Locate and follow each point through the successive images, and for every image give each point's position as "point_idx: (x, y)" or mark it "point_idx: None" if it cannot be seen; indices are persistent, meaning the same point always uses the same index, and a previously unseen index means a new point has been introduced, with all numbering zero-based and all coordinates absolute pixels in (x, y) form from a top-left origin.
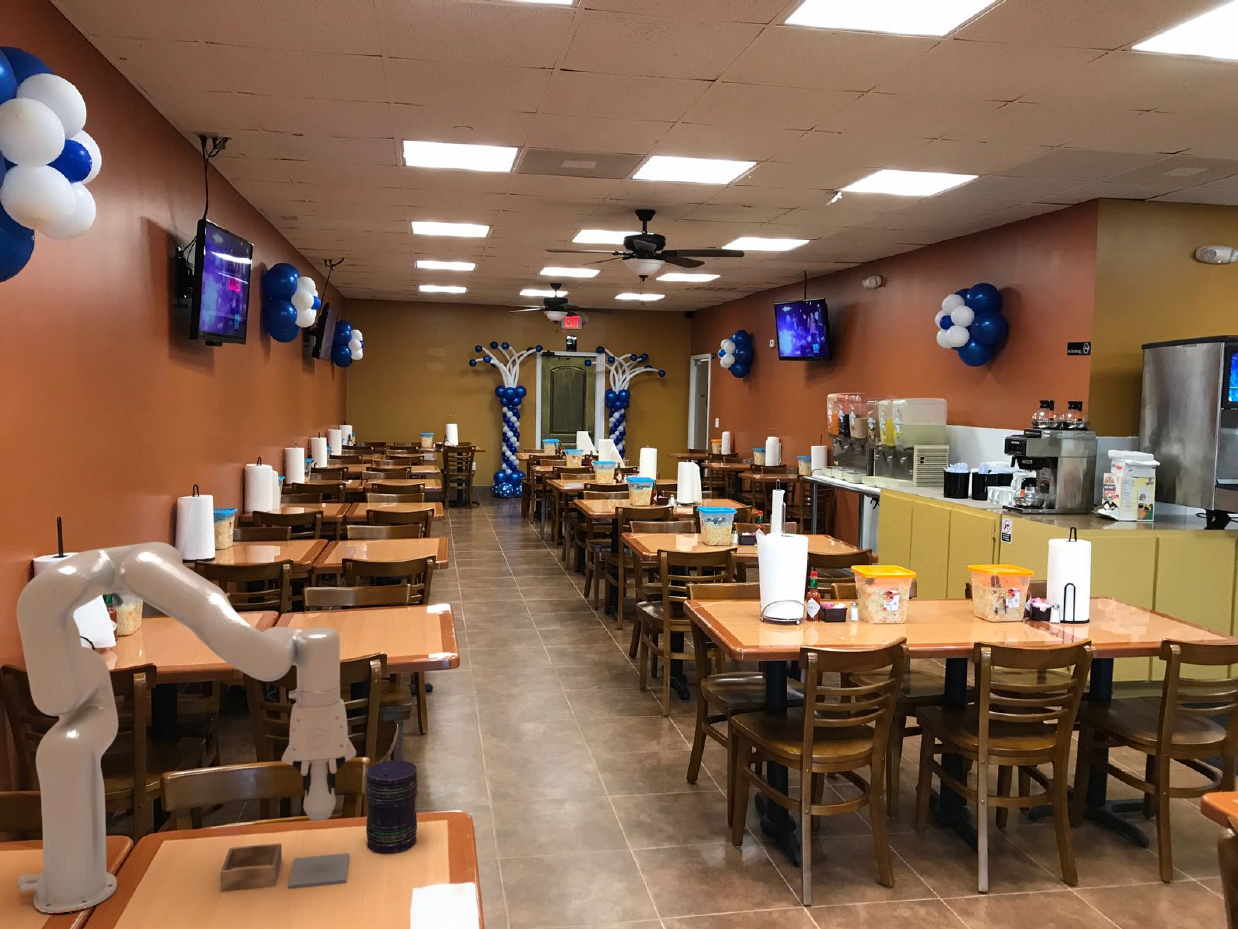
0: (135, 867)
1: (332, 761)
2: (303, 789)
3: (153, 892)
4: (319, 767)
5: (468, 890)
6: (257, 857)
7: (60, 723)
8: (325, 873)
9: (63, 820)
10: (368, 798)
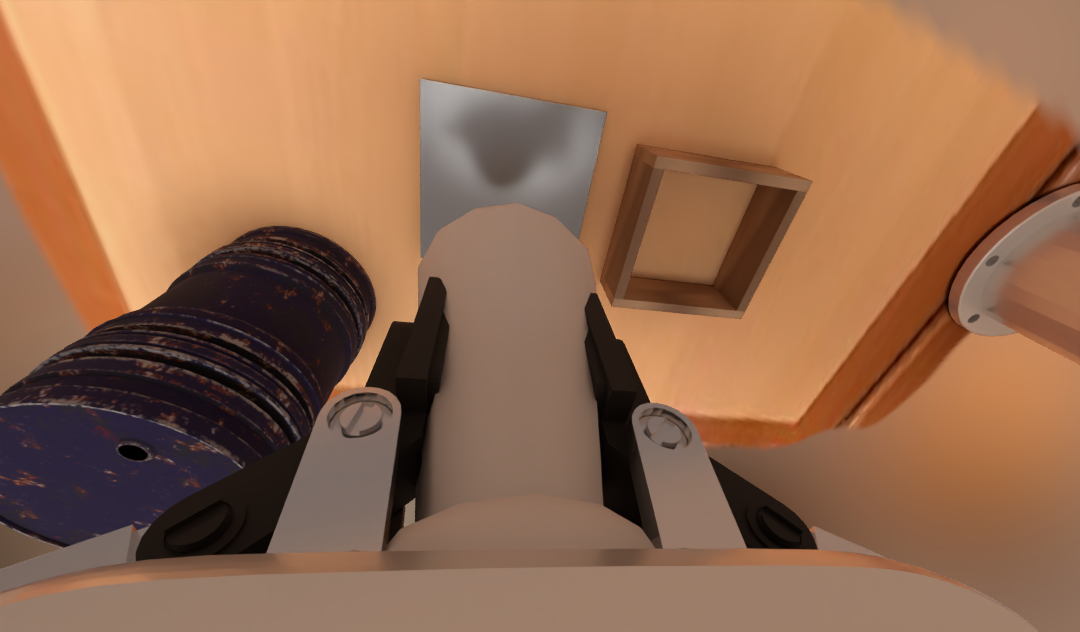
0: (883, 342)
1: (328, 523)
2: (619, 340)
3: (905, 222)
4: (517, 455)
5: None
6: (664, 289)
7: None
8: (489, 152)
9: None
10: (302, 379)
